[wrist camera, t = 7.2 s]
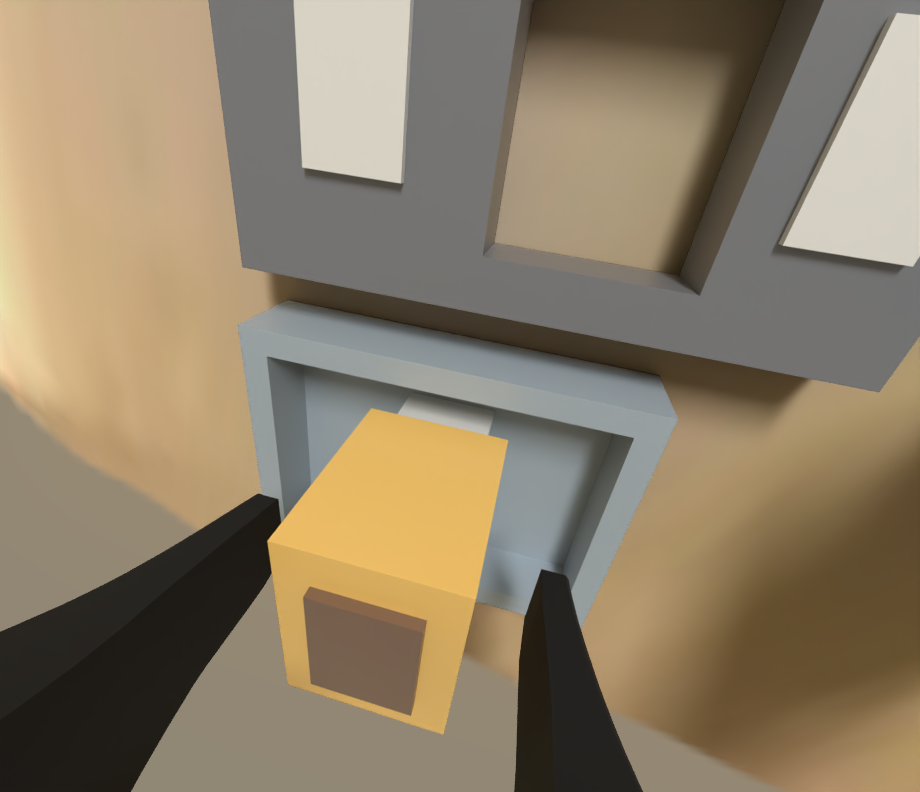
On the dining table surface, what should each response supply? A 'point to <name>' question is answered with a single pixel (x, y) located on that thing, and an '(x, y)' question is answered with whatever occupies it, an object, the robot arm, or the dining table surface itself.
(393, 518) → the block
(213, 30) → the panel
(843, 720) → the dining table surface
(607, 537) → the parts tray
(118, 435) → the dining table surface
